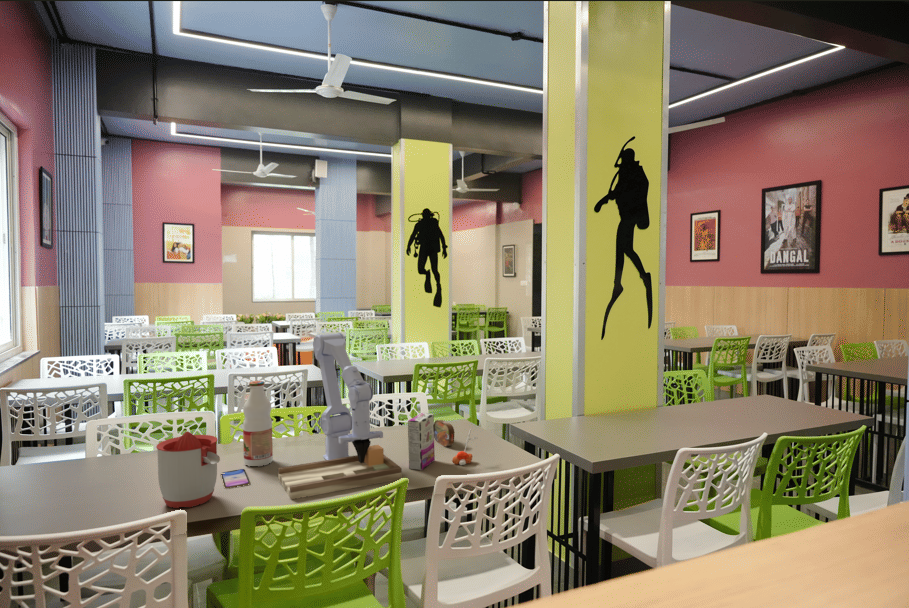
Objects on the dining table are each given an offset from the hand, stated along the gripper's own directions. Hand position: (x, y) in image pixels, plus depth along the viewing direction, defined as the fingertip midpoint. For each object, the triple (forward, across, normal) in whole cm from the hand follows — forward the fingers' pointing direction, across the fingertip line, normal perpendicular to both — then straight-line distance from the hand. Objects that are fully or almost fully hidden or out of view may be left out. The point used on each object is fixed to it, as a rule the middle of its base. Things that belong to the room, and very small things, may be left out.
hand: (361, 462), depth 181 cm
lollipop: (+3, +34, -10) cm, 35 cm away
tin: (+3, +38, +14) cm, 40 cm away
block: (+1, +4, 0) cm, 4 cm away
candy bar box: (+3, +20, -4) cm, 20 cm away
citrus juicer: (+3, -50, -1) cm, 51 cm away
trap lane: (+3, -8, -4) cm, 10 cm away
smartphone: (+3, -38, +12) cm, 40 cm away
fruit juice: (+3, -28, +25) cm, 38 cm away
